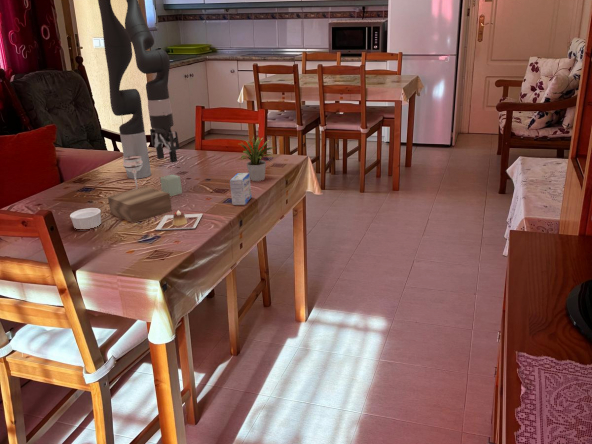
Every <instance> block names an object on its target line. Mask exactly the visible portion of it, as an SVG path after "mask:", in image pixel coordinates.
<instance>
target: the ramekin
mask: <svg viewBox="0 0 592 444" xmlns="http://www.w3.org/2000/svg"><path fill="white" fill-rule="evenodd" d="M101 212H102V211H101V209H100V208H96V207H87V208H81V209H78V210H75V211H73V212H72V213H70V215H69V217H70V220H71V222H72V225H73V228H74V229H75V228H76V229H90V228H94V227H96V228H98V227H100V226H101V225H100V224H102V216H101ZM99 225H100V226H99ZM97 226H98V227H97ZM76 229H75V230H76ZM94 229H95V228H94ZM90 230H91V229H90Z"/></svg>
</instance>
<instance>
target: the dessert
mask: <svg viewBox="0 0 592 444" xmlns="http://www.w3.org/2000/svg"><path fill="white" fill-rule="evenodd" d="M203 215H204V213H188V214H187V213H185V214H184V213H183V212H181V211H180V210H179V209H178V210H176V212H174V214H166V215H164V216H162V217H163V218H162V219H161V220H160V221H159V223H158V225H157V226H156V227H155V230H156V231H174V230H194V229H196V227H197V226H198V225H199V222H200V220H201V218H202V216H203ZM187 218H197V219H196V220H195V222H194V224H193V226H192V227H180V226H184V225H185V226H186V224H188V220H187ZM169 219H172V224H171V225H173V226H176V227H175V228H174V227H173V228H172V227H171V228H163V226H164V225H165V223H166V222H167V221H168V220H169ZM155 230H154V231H155Z"/></svg>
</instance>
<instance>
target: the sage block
mask: <svg viewBox="0 0 592 444" xmlns="http://www.w3.org/2000/svg"><path fill="white" fill-rule="evenodd" d="M159 179H160V181H159V182H160V186H161V191H163V192H166V193H169V194H170V197H174V196H176V195H180V194H183V188H182V181H181V180H182V179H181V176H180V175H179V176H178V175H176V174H169V175H168V174H167V175H165V176H161V177H159Z"/></svg>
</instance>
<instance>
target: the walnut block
mask: <svg viewBox="0 0 592 444" xmlns="http://www.w3.org/2000/svg"><path fill="white" fill-rule="evenodd" d="M133 189H134V190H132V189H130V190H127V191H124V192H121V193H117V194H114V195H109V196H107V201H108V205H109V212H110V214H111V215H112V216H115V217H118V218H120V219H123V220H125V221H127V222H129V223H132V224H135V223H137V222H140V221H144V220H146V219H150V218H153V217H155V216H159V215H161V214H165V213H168V212H171V211H173V210H172V203H171V202H172V201H171V196H170V194H169V193H166V192H163V191H162V190H160V189H157V188H153V187H151V186H148V185H145V186H142V187H138V188H137V189H135V188H133Z"/></svg>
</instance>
